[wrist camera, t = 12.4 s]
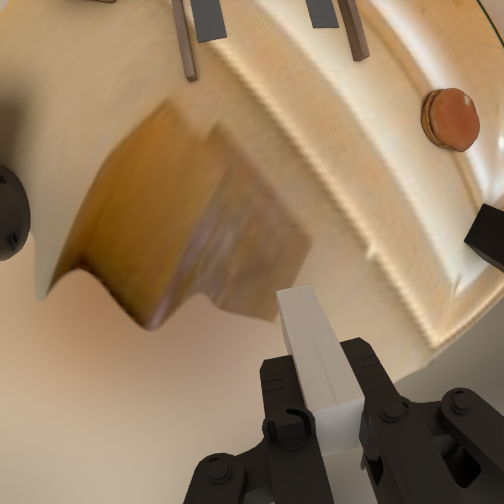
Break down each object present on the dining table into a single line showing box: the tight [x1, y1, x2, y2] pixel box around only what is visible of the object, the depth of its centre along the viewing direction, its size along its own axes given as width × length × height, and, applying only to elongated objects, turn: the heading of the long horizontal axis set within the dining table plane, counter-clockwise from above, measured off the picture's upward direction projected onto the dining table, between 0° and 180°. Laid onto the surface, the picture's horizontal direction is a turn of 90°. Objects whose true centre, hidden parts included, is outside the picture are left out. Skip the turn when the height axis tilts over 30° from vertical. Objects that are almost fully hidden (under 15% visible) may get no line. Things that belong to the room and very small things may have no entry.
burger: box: [422, 88, 480, 152], centre depth 33 cm, size 10×9×5 cm
